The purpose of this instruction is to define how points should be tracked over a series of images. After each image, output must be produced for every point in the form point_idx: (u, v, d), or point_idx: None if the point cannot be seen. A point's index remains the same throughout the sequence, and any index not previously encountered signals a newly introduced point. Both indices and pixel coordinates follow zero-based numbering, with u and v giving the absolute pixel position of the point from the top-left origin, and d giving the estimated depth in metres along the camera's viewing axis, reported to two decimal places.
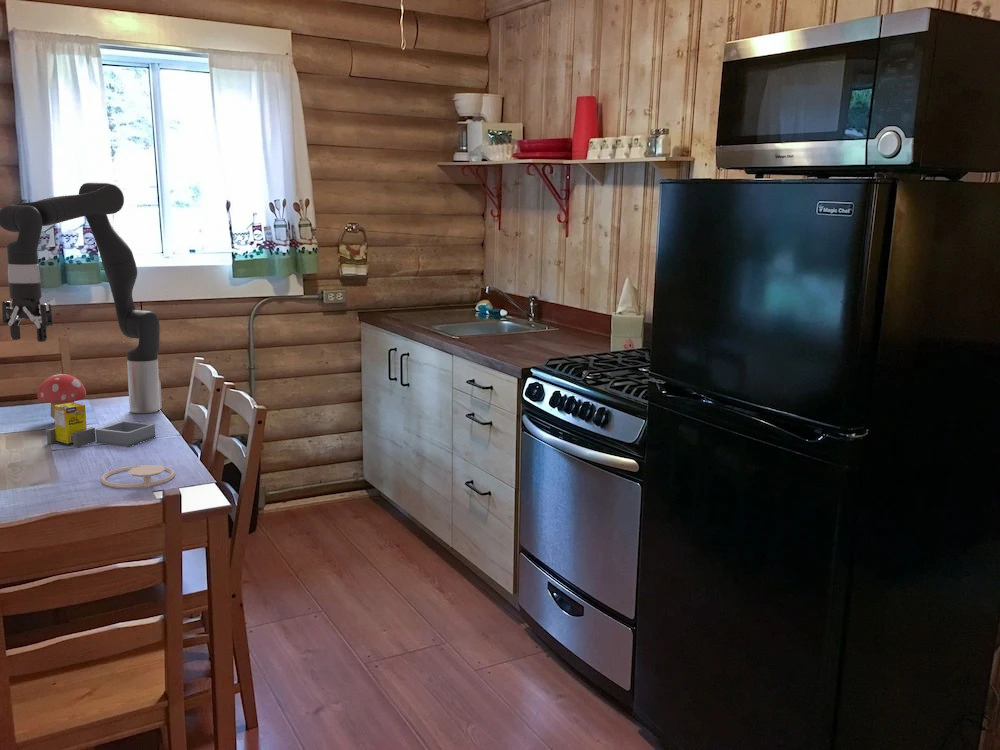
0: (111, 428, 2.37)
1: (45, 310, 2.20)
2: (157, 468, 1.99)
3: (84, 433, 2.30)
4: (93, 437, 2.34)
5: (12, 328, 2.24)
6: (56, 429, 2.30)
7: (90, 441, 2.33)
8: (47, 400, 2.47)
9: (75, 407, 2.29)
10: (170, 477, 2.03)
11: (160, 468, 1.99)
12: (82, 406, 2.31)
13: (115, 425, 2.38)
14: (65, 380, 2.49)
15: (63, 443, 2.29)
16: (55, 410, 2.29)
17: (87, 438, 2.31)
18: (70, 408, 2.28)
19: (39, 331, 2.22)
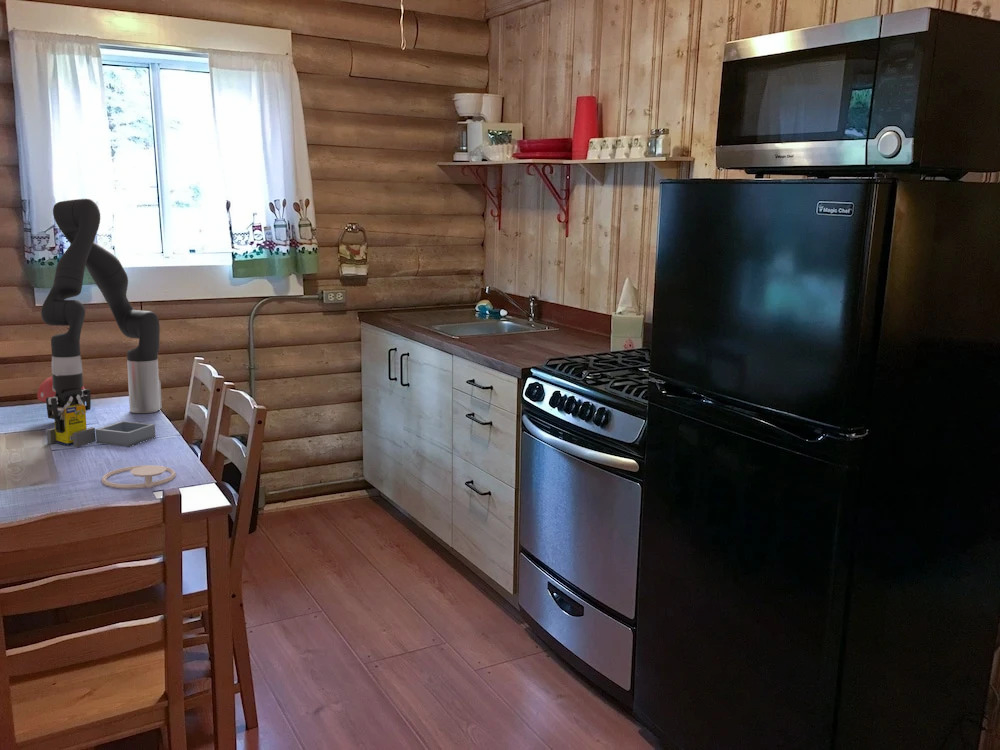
0: (111, 428, 2.37)
1: None
2: (159, 468, 1.99)
3: (84, 433, 2.30)
4: (93, 437, 2.34)
5: (63, 421, 2.27)
6: None
7: (90, 441, 2.33)
8: None
9: (75, 407, 2.29)
10: (171, 477, 2.03)
11: (162, 468, 1.98)
12: (82, 406, 2.31)
13: (115, 425, 2.38)
14: None
15: (63, 443, 2.29)
16: None
17: (87, 438, 2.31)
18: (70, 408, 2.28)
19: None
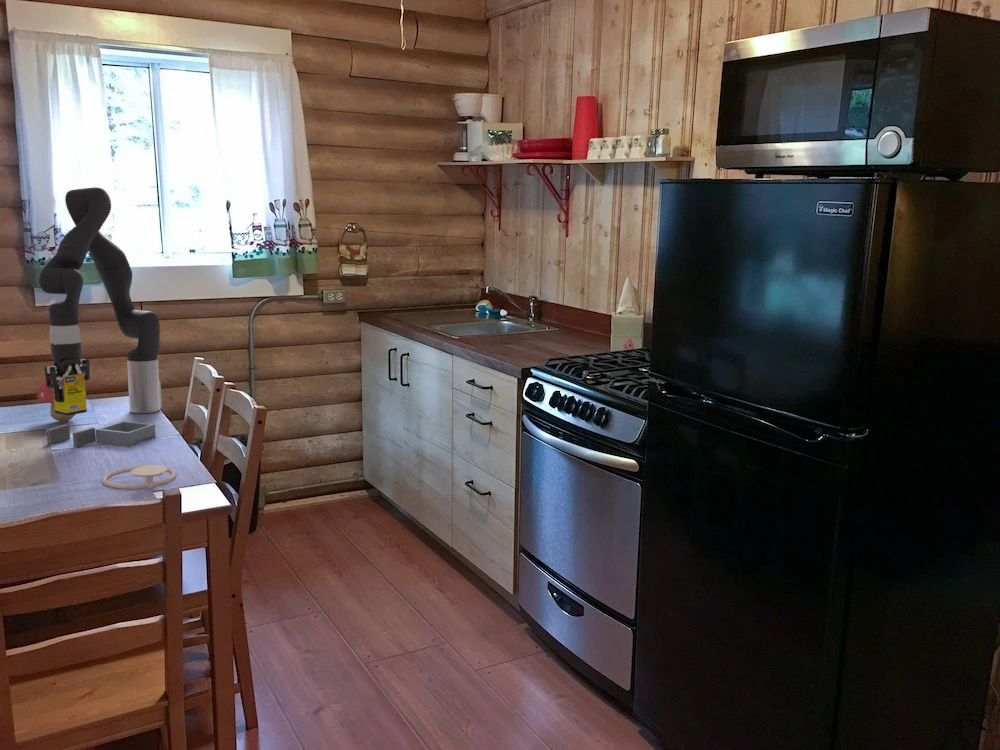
0: (111, 428, 2.37)
1: None
2: (160, 468, 1.99)
3: (84, 433, 2.30)
4: (93, 437, 2.34)
5: (62, 391, 2.26)
6: None
7: (90, 441, 2.33)
8: (47, 400, 2.47)
9: (74, 376, 2.28)
10: (172, 477, 2.03)
11: (162, 468, 1.98)
12: (81, 375, 2.29)
13: (115, 425, 2.38)
14: None
15: (63, 413, 2.28)
16: None
17: (87, 438, 2.31)
18: (69, 377, 2.26)
19: None
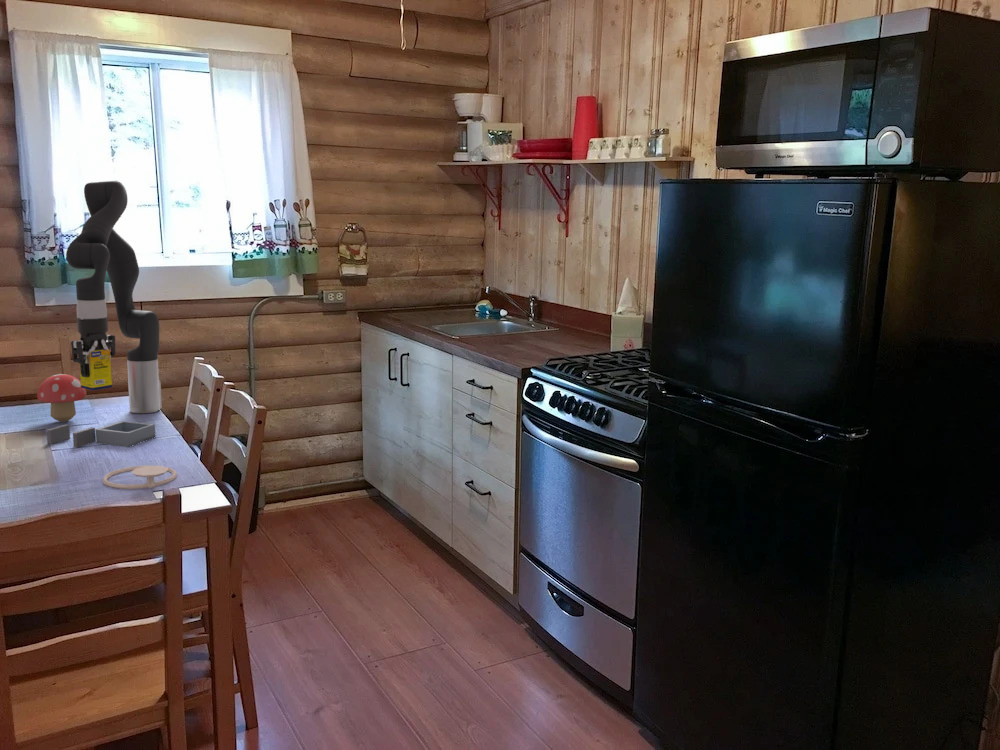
0: (111, 428, 2.37)
1: None
2: (160, 468, 1.99)
3: (84, 433, 2.30)
4: (93, 437, 2.34)
5: (88, 365, 2.27)
6: None
7: (90, 441, 2.33)
8: (47, 400, 2.47)
9: (100, 351, 2.29)
10: (173, 477, 2.03)
11: (163, 469, 1.98)
12: (107, 351, 2.30)
13: (115, 425, 2.38)
14: (65, 380, 2.49)
15: (88, 388, 2.29)
16: None
17: (87, 438, 2.31)
18: (95, 352, 2.27)
19: None
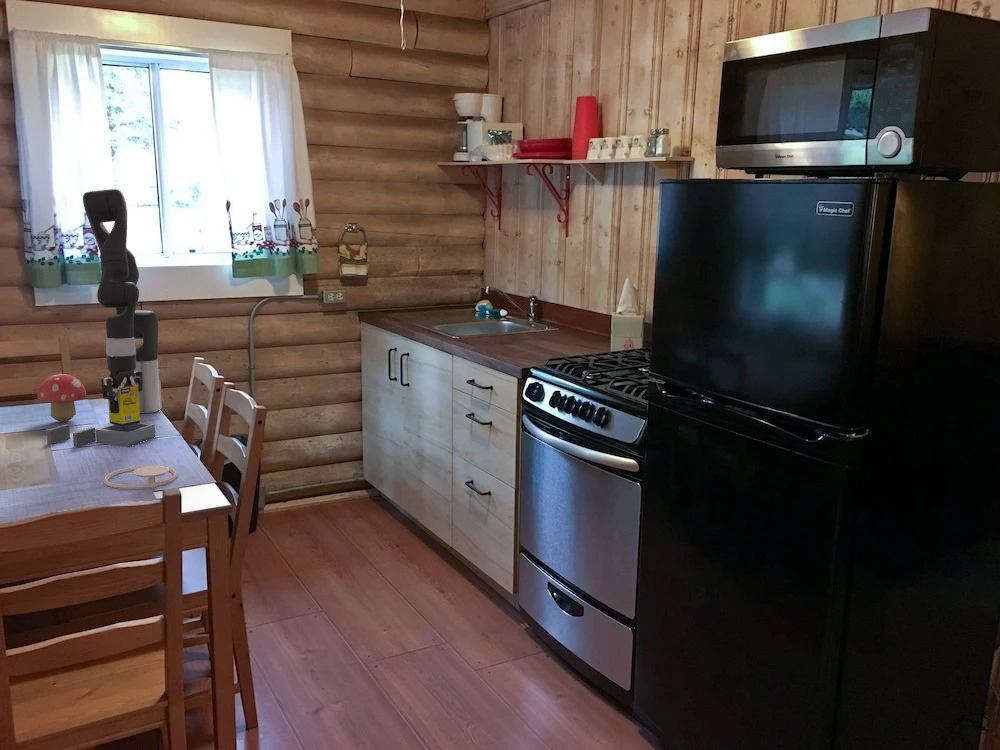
0: (111, 428, 2.37)
1: None
2: (161, 468, 1.99)
3: (84, 433, 2.30)
4: (93, 437, 2.34)
5: (117, 402, 2.31)
6: None
7: (90, 441, 2.33)
8: (47, 400, 2.47)
9: (129, 388, 2.32)
10: (174, 477, 2.03)
11: (165, 469, 1.98)
12: (135, 387, 2.34)
13: (115, 425, 2.38)
14: (65, 380, 2.49)
15: (117, 424, 2.32)
16: None
17: (87, 438, 2.31)
18: (124, 389, 2.31)
19: None
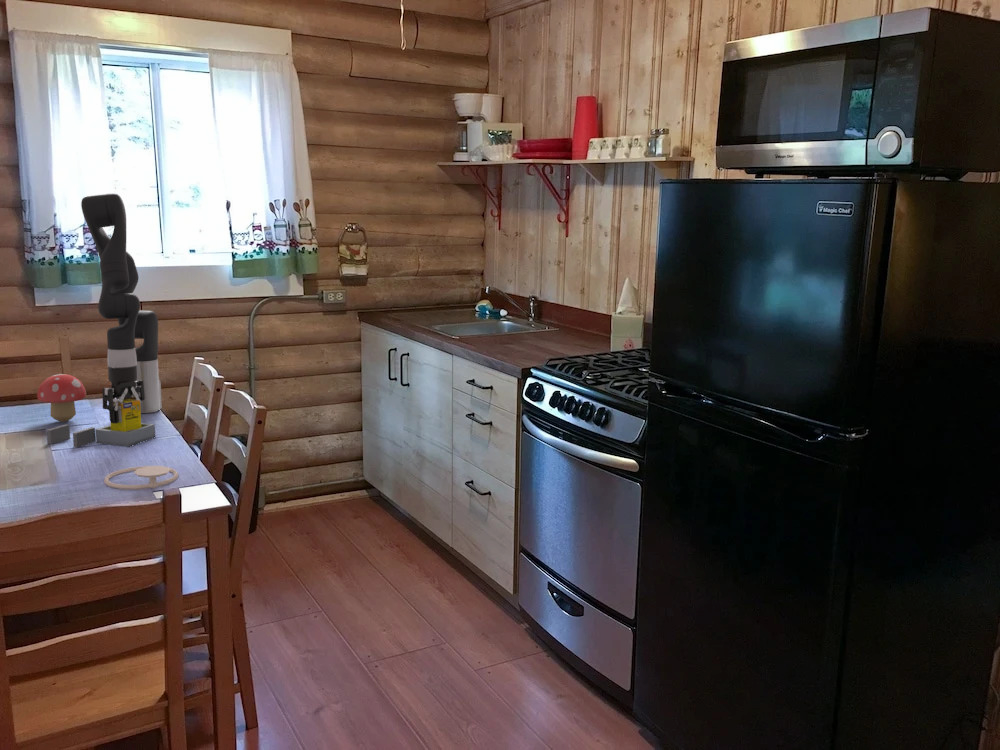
0: None
1: None
2: (162, 468, 1.99)
3: (84, 433, 2.30)
4: (93, 437, 2.34)
5: (117, 412, 2.31)
6: (112, 424, 2.34)
7: (90, 441, 2.33)
8: (47, 400, 2.47)
9: (131, 402, 2.33)
10: (174, 477, 2.03)
11: (166, 469, 1.98)
12: (137, 401, 2.35)
13: None
14: (65, 380, 2.49)
15: None
16: None
17: (87, 438, 2.31)
18: (127, 403, 2.32)
19: None
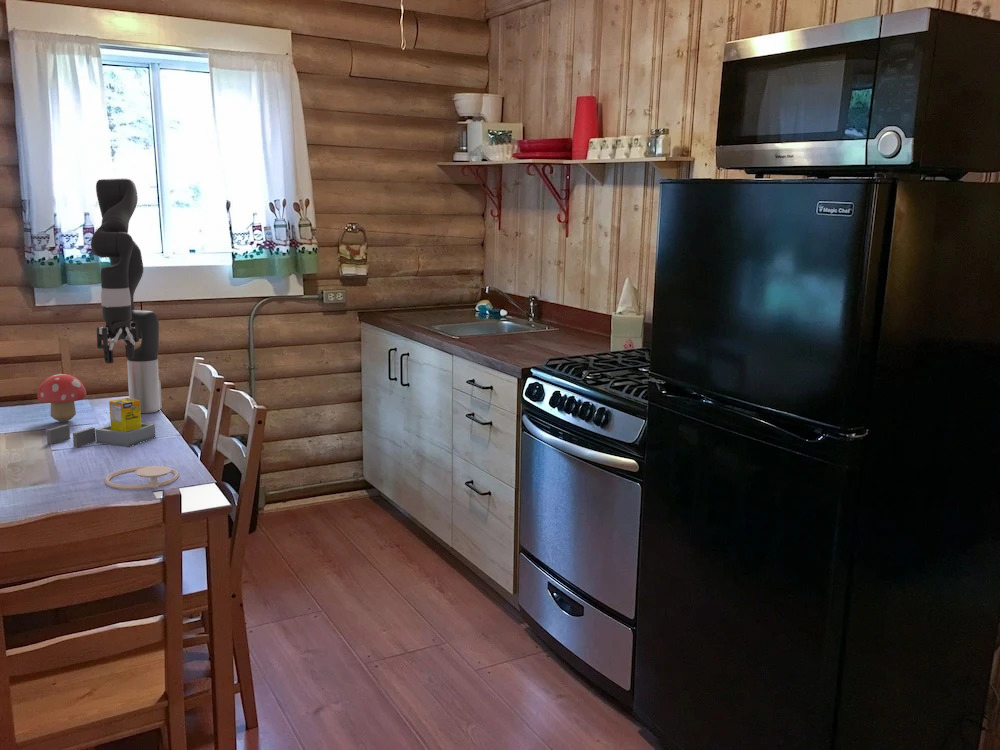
0: None
1: None
2: (163, 468, 1.99)
3: (84, 433, 2.30)
4: (93, 437, 2.34)
5: (112, 352, 2.30)
6: (112, 424, 2.34)
7: (90, 441, 2.33)
8: (47, 400, 2.47)
9: (131, 402, 2.33)
10: (175, 477, 2.03)
11: (167, 469, 1.98)
12: (137, 401, 2.35)
13: None
14: (65, 380, 2.49)
15: None
16: (111, 405, 2.33)
17: (87, 438, 2.31)
18: (127, 403, 2.32)
19: None
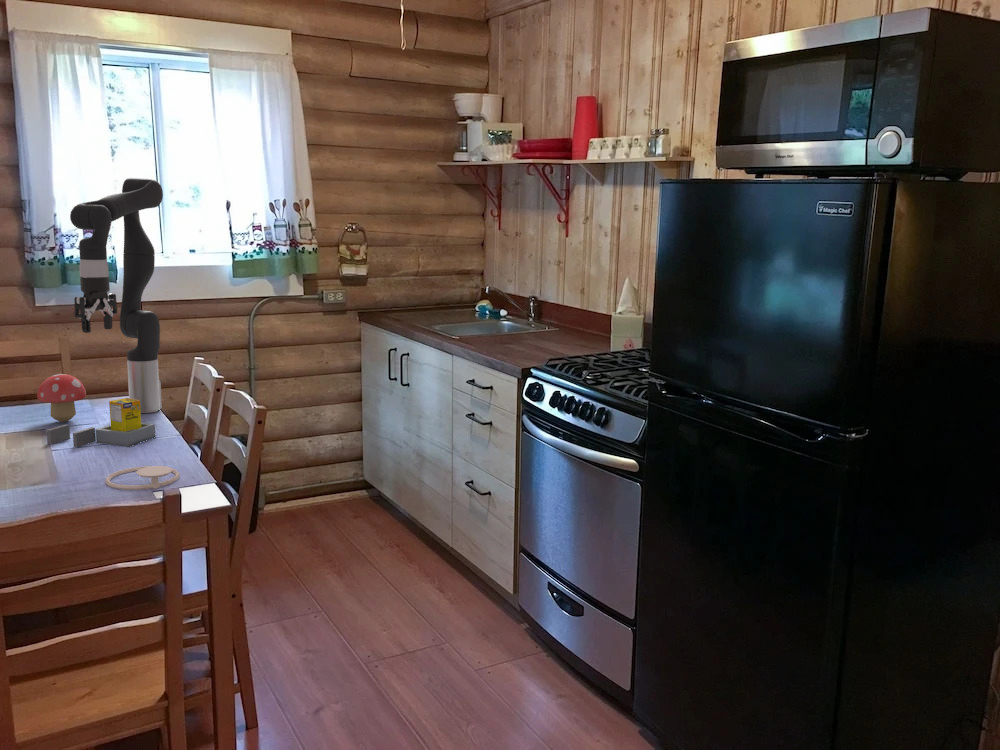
0: None
1: None
2: (164, 468, 1.99)
3: (84, 433, 2.30)
4: (93, 437, 2.34)
5: (89, 321, 2.36)
6: (112, 424, 2.34)
7: (90, 441, 2.33)
8: (47, 400, 2.47)
9: (131, 402, 2.33)
10: (176, 477, 2.03)
11: (168, 469, 1.98)
12: (137, 401, 2.35)
13: None
14: (65, 380, 2.49)
15: None
16: (111, 405, 2.33)
17: (87, 438, 2.31)
18: (127, 403, 2.32)
19: None
